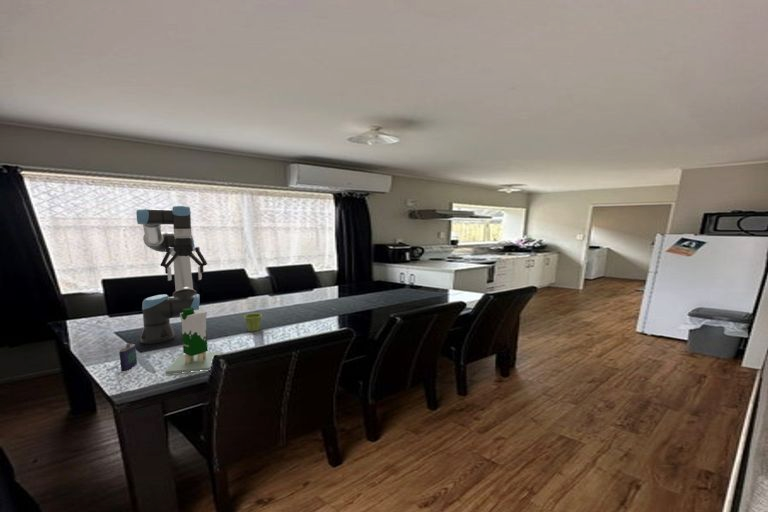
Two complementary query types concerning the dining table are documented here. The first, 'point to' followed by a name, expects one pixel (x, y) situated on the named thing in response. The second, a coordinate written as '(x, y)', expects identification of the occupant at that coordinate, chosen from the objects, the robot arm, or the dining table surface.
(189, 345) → the soya milk
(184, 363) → the peg stand
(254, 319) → the plant pot
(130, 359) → the flask
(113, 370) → the dining table surface
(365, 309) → the dining table surface
